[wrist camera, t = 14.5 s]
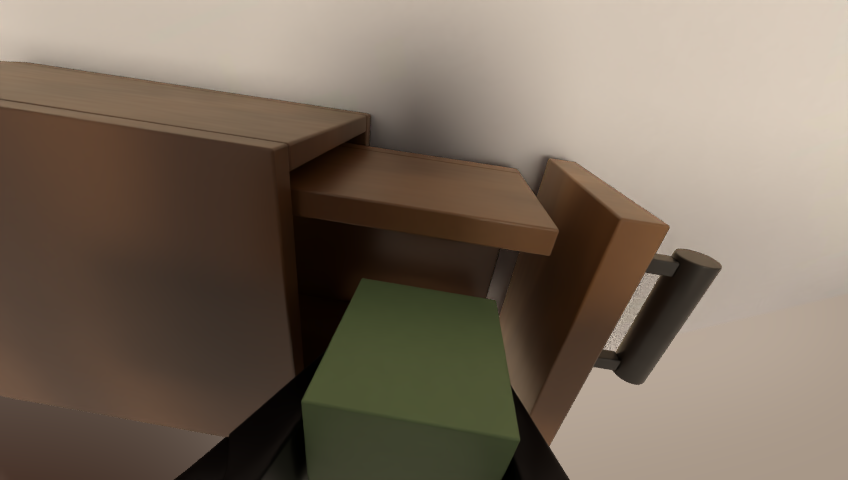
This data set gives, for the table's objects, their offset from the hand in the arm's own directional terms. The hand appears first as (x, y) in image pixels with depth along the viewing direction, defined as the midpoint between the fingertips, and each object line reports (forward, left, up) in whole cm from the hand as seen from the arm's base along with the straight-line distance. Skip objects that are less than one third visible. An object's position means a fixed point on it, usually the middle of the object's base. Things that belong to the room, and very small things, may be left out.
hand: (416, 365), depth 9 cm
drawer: (0, 0, -8) cm, 8 cm away
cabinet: (-2, +12, -8) cm, 15 cm away
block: (0, 0, -1) cm, 1 cm away
